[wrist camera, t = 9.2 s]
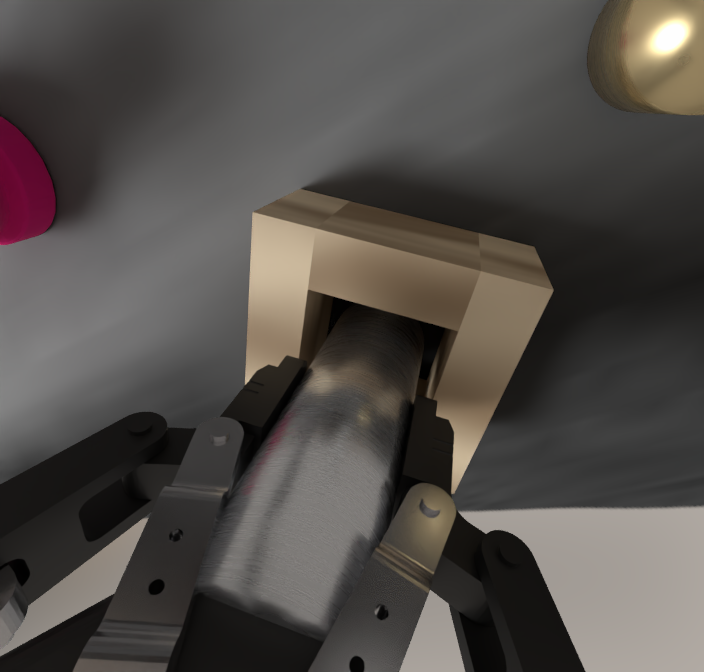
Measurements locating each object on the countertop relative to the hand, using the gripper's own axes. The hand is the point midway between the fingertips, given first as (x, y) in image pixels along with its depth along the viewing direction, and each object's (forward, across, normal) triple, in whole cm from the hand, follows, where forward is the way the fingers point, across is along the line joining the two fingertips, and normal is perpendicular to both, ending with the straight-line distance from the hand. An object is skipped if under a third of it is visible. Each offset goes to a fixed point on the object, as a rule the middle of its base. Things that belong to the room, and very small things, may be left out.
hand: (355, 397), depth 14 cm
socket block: (+6, 0, 0) cm, 6 cm away
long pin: (+4, 0, 0) cm, 4 cm away
